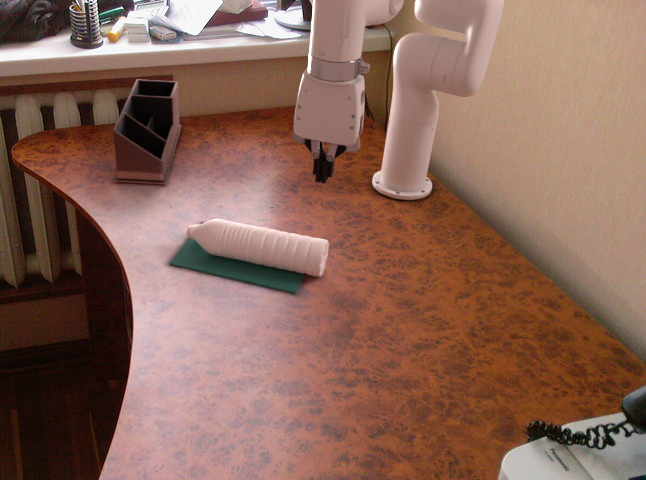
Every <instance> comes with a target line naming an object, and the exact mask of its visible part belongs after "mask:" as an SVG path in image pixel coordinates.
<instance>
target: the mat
mask: <svg viewBox="0 0 646 480" xmlns="http://www.w3.org/2000/svg"><path fill="white" fill-rule="evenodd" d="M203 223H205V222H204V221H201V222H200V224H203ZM169 266H173V267H177V268H182V269H186V270H190V271H194V272H199V273H203V274H207V275H211V276H216V277H220V278H224V279H228V280H233V281H236V282H242V283H247V284H250V285H254V286H258V287H262V288H267V289H272V290H276V291H279V292H285V293H289V294H293V295H296V294H297V292H298V290H299V288H300V286H301V284H302V282H303V280H304V278H305V276H306V274H307V273H305V274H303V273H298V272H296V271H288V270H286V269H279V268H276V267H269V266H265V265H259V264H255V263H251V262H246V261H242V260H237V259H232V258H228V257H223V256H216V255H212V254H209V253H208V252H206V251H205V250H204V249H203V248H202V247H201V246H200V245H199V244H198V243H197V242H196V241H195V240H194V239H193V240H191V238H188V239H187V240H186V241H185V242H184V244H183V245H182V247H181V248H180V249H179V250H178V251H177V253H176V254H175V255H174V257H173V258H172V259H171V260H170V261H169Z"/></svg>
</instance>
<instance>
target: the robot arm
mask: <svg viewBox="0 0 646 480" xmlns="http://www.w3.org/2000/svg"><path fill="white" fill-rule="evenodd" d="M309 2H310V4H311V6H312V15H311V25H310V39H309V52H308V63H307V68H305V69H304V71H303V73H302V77H301V79H300V83H299V88H298V92H297V98H296V104H295V111H294V117H293V133H292V136H291V138H292V140H293V141H294V142H297V143H299V144H302V145H304V146H305V148H306V149H307V150H308V151H309V152H310V153H311V157H312V158H313V165H312V175H315V177H314V178H315V180H314V181H315V183H321V184H324V185H326V183H327V181H328V180H329V178H333V175H334V171H335V160H336V158H338V157H340V156H341V155H342V154H344V153H358V152H359V151H360V149H361V148H362V147H361V138H360V137H361V135H362V132H363V128H364V119H365V117H364V116H365V104H366V103H365V102H366V101H365V99H366V98H365V97H366V89H365V88H366V87H365V77H364V75H362V74H369V72H370V68H371V63H366V62H365V61H364V59H363V55H362V54H363V53H362V51H363V44H364V38H365V37H364V36H365V28H366V27H368V26H369V27H370V26H377V25H382V24H385V23H388V22H390V21H392V20H393V19H394V18H395V17H397V15H398V14H399V13H400V11H401V9H402V8H403V7H404V3H405V0H309ZM504 6H505V0H415V1H414V16H415V19H416V20H417V21H418V22H420V23H421V24H423V25H426V26H429V27H432V28H437V29H442V30H446V31H451V32H456V33H460V34H464V35H465V37H466V42H465V41H461V40H458V39H453V38H448V37H446V36H441V35H436V34H431V33H426V32H410V33H408V34H405V35H404V36H402V37H401V38H400V39H399V40H398V42H396V45H395V48H394V51H393V58H392V75H393V76H392V77H393V78H392V79H393V81H392V82H393V85H392V97H391V103H390V104H391V105H390V110H389V118H388V123H387V130H386V137H385V144H384V148H383V149H384V150H383V156H382V163H381V169H380V170H378V171H377V172H375V173H374V174H373V176H372V180H371V184H372V187H373V189H375V190H376V191H377V192H378V193H380V194H382V195H383V196H385V197H388V198H391V199H396V200H403V201H414V200H415V201H416V200H420V199H423V198H426V197H427V196H428V195H430V194H431V192H432V190H433V183H432V180H431V179H430V178H429V177H427V176H428V171H429V167H430V161H431V155H432V151H433V145H434V140H435V136H436V130H437V125H438V120H439V115H440V104H439V99H438V96H437V94H436V92H439V93H444V94H447V95H451V96H457V97H462V98H469V97H472V96H474V95H475V94H477V93H478V92H479V90H480V88H481V87H482V84H483V82H484V79H485V77H486V73H487V71H488V70H487V69H488V66H489V63H490V59H491V57H492V52H493V49H494V45H495V42H496V39H497V38H496V37H497V35H498V31H499V28H500V24H501V21H502V17H503V12H504ZM435 91H436V92H435ZM324 143H327V144H329V147H328V149H327V153H326V151H325V148H324Z"/></svg>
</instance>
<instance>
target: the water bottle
mask: <svg viewBox="0 0 646 480" xmlns="http://www.w3.org/2000/svg"><path fill="white" fill-rule="evenodd" d="M186 238H188V239H189V238H191V240H193V239H194V240H195V241H196V242H197V243H198V244H199V245H200V246H201V247H202V248H203V249H204V250H205V251H206V252H208V253H209V254H212V255H216V256H223V257H228V258H232V259H237V260H242V261H246V262H251V263H255V264H259V265H265V266H269V267H276V268H279V269H286V270H288V271H296V272H298V273H303V274H305V273H306V274H307V275H309V276H313V277H317V278H321V277H322V276H323V274H324V271H325V269H326V265H327V263H326V262H327V260H328V258H329V257H328V256H329V249H330V242H329V240H328V239H325V238H321V237H312V236H310V235H301V234H299V233H294V232H288V231H281V230H278V229H274V228H271V229H270V228H268V227H263V226H257V225H253V224H247V223H242V222H238V221H232V220H228V219H227V220H226V219H223V218H212V219H209V220H207V221H205V222H204V223H203V224H201V223H196V224H189V225H188V226H187V228H186ZM306 274H305V275H306Z"/></svg>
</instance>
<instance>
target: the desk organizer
mask: <svg viewBox="0 0 646 480" xmlns="http://www.w3.org/2000/svg"><path fill="white" fill-rule="evenodd" d="M179 96H180V95H179V82H178V80H177V81H175V80H174V81H173V80H156V79H139V78H136V79H135V81H134V84H133V86H132V88H131V90H130V93H129V95H128V98H127V99H126V102H125V104H124V106H123V108H122V110H121V112H120V114H119V116H118V118H117V120H116V122H115V125H114V127H113V130H112V135H113V144H114V155H115V156H114V157H115V158H114V159H115V168H116V176H115V178H114V180H113V181H114V182H115V183H129V184H130V183H132V184H147V185H148V184H149V185H163V186H164V185H166V183H167V179H168V175H169V172H170V169H171V164H172V161H173V158H174V154H175V150H176V147H177V144H178V141H179V136H180V133H181V130H182V124H180V105H179V100H180V99H179Z"/></svg>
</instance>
